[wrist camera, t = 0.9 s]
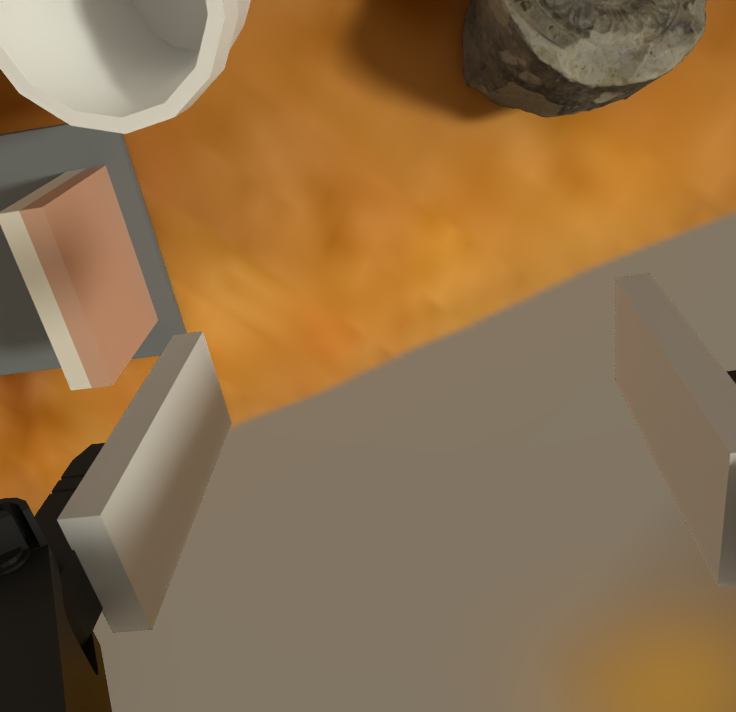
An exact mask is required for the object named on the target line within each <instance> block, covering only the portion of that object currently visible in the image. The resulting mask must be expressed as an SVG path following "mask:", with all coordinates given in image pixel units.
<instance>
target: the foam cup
mask: <svg viewBox="0 0 736 712" xmlns="http://www.w3.org/2000/svg"><path fill="white" fill-rule="evenodd" d="M250 1H251V0H0V69H1V70H2V72H3V73H4V74H5V76H6V77H7V78H8V79H9V81H10V82H11V83H12V85H13V86H14V87H15V88H16V90H17V91H18V92H19V94H21V95H23V96H24V97H26V98H27V99H29V100H31V101H32V102H34V103H36V104H37V105H39V106H40V107H42V108H44V109H45V110H47V111H48V112H50V113H52V114H53V115H55V116H56V117H58V118H60V119H61V120H63V121H64V122H66V123H68V124H69V125H71V126H76V127H83V128H90V129H96V130H103V131H109V132H116V133H122V134H127V133H130V132H133V131H136V130H139V129H142V128H144V127H147V126H150V125H153V124H156V123H159V122H162V121H165V120H168V119H171V118H174V117H176V116H177V115H179V114H180V113H182V112H183V111H185V110H186V109H188V108H189V107H191V106H192V105H193V104H194V103H195V101H196V100H197V99H198V98H199V97H200V96H201V95H202V93H203V92H204V91H205V90H206V89H207V88H208V87H209V86H210V84H211V83H212V82H213V81H214V80H215V79H216V78H217V77H218V75H219V74H220V73H221V72H222V71H223V70H224V69H225V65H226V61H227V57H228V53H229V50H230V48H231V47H232V45H233V43H234V42H235V40H236V38H237V37H238V35H239V33H240V32H241V30H242V28H243V27H244V24H245V20H246V17H247V13H248V9H249V5H250Z"/></svg>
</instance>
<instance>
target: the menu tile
mask: <svg viewBox="0 0 736 712" xmlns="http://www.w3.org/2000/svg"><path fill="white" fill-rule="evenodd" d="M0 225H1V227H2V230H3V232H4V234H5V237H6V239H7V241H8V244H9V246H10V248H11V251H12V253H13V255H14V258H15V260H16V263H17V265H18V267H19V270H20V272H21V274H22V277H23V279H24V281H25V284H26V286H27V288H28V291H29V293H30V295H31V298H32V300H33V302H34V305H35V307H36V309H37V312H38V314H39V316H40V319H41V321H42V323H43V326H44V328H45V330H46V333H47V335H48V337H49V340H50V342H51V344H52V347H53V349H54V351H55V354H56V356H57V358H58V361H59V363H60V365H61V368H62V370H63V372H64V375H65V377H66V379H67V382H68V384H69V386H70V389H71V390H79V389H87V388H96V387H104V386H112V385H113V384H114V383H115V381H116V380H117V378H118V377H119V376H120V374H121V373H122V371H123V370H124V368H125V367H126V366H127V364H128V363H129V361H130V360H131V359H132V357H133V356H134V354H135V353H136V351H137V350H138V349H139V347H140V346H141V344H142V343H143V341H144V340H145V339H146V337H147V336H148V334H149V333H150V331H151V330H152V329H153V327H154V326H155V324H156V323H157V321H158V318H157V315H156V312H155V309H154V306H153V303H152V300H151V298H150V295H149V292H148V289H147V286H146V283H145V280H144V277H143V274H142V271H141V268H140V265H139V262H138V259H137V256H136V253H135V250H134V248H133V245H132V242H131V239H130V236H129V233H128V230H127V227H126V224H125V221H124V218H123V215H122V212H121V209H120V206H119V203H118V200H117V198H116V195H115V192H114V189H113V186H112V183H111V180H110V177H109V174H108V171H107V168H106V165H104V166H98V167H92V168H86V169H80V170H73V171H67V172H65V173H63V174H62V175H60V176H58V177H57V178H55V179H54V180H52V181H50V182H49V183H47V184H45V185H44V186H42V187H40V188H39V189H37V190H35V191H34V192H32V193H30V194H29V195H27V196H26V197H24V198H22V199H21V200H19V201H17V202H16V203H14V204H12V205H11V206H9V207H7V208H6V209H4V210H2V211H1V212H0Z"/></svg>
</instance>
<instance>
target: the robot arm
mask: <svg viewBox="0 0 736 712" xmlns="http://www.w3.org/2000/svg"><path fill="white" fill-rule="evenodd" d="M615 380H616V382H617V384H618V386H619V388H620V391H621V393H622V394H623V397H624V398H625V401H626V403H627V405H628V407H629V409H630V411H631V413H632V415H633V417H634V419H635V421H636V423H637V425H638V427H639V429H640V431H641V433H642V435H643V437H644V439H645V441H646V443H647V445H648V447H649V449H650V451H651V453H652V455H653V457H654V459H655V461H656V463H657V465H658V467H659V469H660V471H661V473H662V475H663V478H664V480H665V482H666V484H667V486H668V488H669V490H670V492H671V494H672V496H673V498H674V499H675V502H676V504H677V506H678V508H679V510H680V512H681V514H682V516H683V518H684V520H685V522H686V524H687V526H688V528H689V530H690V532H691V534H692V536H693V538H694V540H695V542H696V544H697V546H698V548H699V550H700V552H701V554H702V556H703V558H704V561H705V563H706V565H707V566H708V569H709V571H710V573H711V575H712V577H713V579H714V581H715V583H716V585H717V586H730V585H736V370H735V371H725V370H724V368H723V367H722V366H721V364H720V363H719V362H718V360H717V359H716V358H715V356H714V355H713V354H712V353H711V351H710V350H709V349H708V347H707V346H706V345H705V344H704V342H703V341H702V340H701V339H700V337H699V336H698V335H697V333H696V332H695V331H694V329H693V328H692V327H691V326H690V324H689V323H688V322H687V321H686V319H685V318H684V317H683V315H682V314H681V313H680V311H679V310H678V309H677V308H676V306H675V305H674V304H673V302H672V301H671V300H670V298H669V297H668V296H667V295H666V293H665V292H664V291H663V289H662V288H661V287H660V286H659V284H658V283H657V282H656V280H655V279H654V278H653V277H652V275H651V274H650V273H646V274H638V275H631V276H623V277H616V278H615ZM230 426H231V420H230V416H229V413H228V410H227V407H226V404H225V400H224V397H223V394H222V391H221V388H220V384H219V381H218V378H217V375H216V372H215V369H214V365H213V362H212V359H211V356H210V353H209V349H208V346H207V343H206V340H205V337H204V333H203V331H202V332H194V333H186V334H179V335H173V336H172V338H171V340H170V341H169V343H168V344H167V346H166V348H165V349H164V351H163V352H162V354H161V355H160V357H159V359H158V360H157V362H156V363H155V365H154V367H153V368H152V370H151V371H150V373H149V374H148V376H147V378H146V379H145V381H144V382H143V384H142V386H141V387H140V389H139V390H138V392H137V394H136V395H135V397H134V398H133V400H132V401H131V403H130V405H129V406H128V408H127V409H126V411H125V413H124V414H123V416H122V417H121V419H120V420H119V422H118V424H117V425H116V427H115V428H114V430H113V432H112V433H111V435H110V436H109V438H108V439H107V441H106V443H100V444H92V445H90V446H89V447H88V448H87V449H86V450H84V451H83V452H82V453H81V454H80V455H78V456H77V457H76V458H75V459H74V460H72V462H71V463H70V465H69V466H68V468H67V469H66V471H65V472H64V474H63V475H62V477H61V478H62V479H61V480H59V481H58V483H57V484H56V486H55V487H54V489H53V490H52V494H49V496H48V497H47V499H46V500H45V502H44V503H43V505H42V506H41V508H40V509H39V511H38V512H37V514H36V515H35V517H34V515H33V513H32V512H31V510H30V508H29V506H28V504H27V502H26V501H24V500H22V499H19V498H4V499H0V712H112V709H111V703H110V698H109V692H108V686H107V680H106V675H105V669H104V664H103V658H102V652H101V647H100V644H99V642H98V640H97V638H96V636H95V634H94V632H93V629H94V626H95V624H96V622H97V620H98V618H99V616H100V614H101V612H103V614H104V616H105V618H106V620H107V622H108V624H109V626H110V628H111V630H112V632H113V633H116V632H128V631H142V630H152V629H153V626H154V624H155V621H156V619H157V616H158V613H159V611H160V608H161V605H162V603H163V600H164V598H165V595H166V593H167V590H168V587H169V585H170V582H171V579H172V577H173V574H174V571H175V569H176V566H177V564H178V561H179V559H180V556H181V553H182V551H183V548H184V546H185V543H186V540H187V538H188V535H189V533H190V530H191V527H192V525H193V522H194V520H195V517H196V514H197V512H198V509H199V507H200V504H201V501H202V499H203V496H204V494H205V491H206V488H207V486H208V483H209V481H210V478H211V475H212V473H213V470H214V468H215V465H216V462H217V460H218V457H219V455H220V452H221V449H222V447H223V444H224V441H225V439H226V436H227V434H228V431H229V429H230Z"/></svg>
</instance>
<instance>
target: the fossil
mask: <svg viewBox="0 0 736 712" xmlns="http://www.w3.org/2000/svg"><path fill="white" fill-rule="evenodd" d="M705 6H706V0H471V3H470V5H469V8H468V10H467V13H466V16H465V20H464V25H463V37H462V43H463V59H464V66H463V76H464V79H465V83H466V85H467V86H468V87H473V88H475V89H476V90H479V91H480V92H481V93H482V94H484V95H485V96H486V97H487V98H488V99H489V100H490V101H492V102H494V103H495V104H497V105H501V106H504V107H509V108H518V109H521V110H524V111H526V112H530V113H534V114H536V115H539V116H541V117H555V116H561V115H571V114H576V113H579V112H581V111H590V110H593V109H595V108H599V107H603V106H605V105H607V104H609V103H612V102H615V101H618V100H621V99H627V98H628V97H630V96H631V95H633V94H634V93H636V92H637V91H639V90H640V89H642V88H643V87H645V86H646V85H648V84H650V83H651V82H653V81H654V80H656V79H658V78H660V77H661V76H663V75H665V74H666V73H668V72H669V71H671V70H672V69H673V68H674V67H675V66H676V65H677V64H679V63H680V62H681V61H682V60H683V59H684V57H685V56H686V55H687V54H688V53H690V52H691V51H692V49H693V48H694V46H695V44H696V43H697V41H698V40H699V39H700V38H701V37H702V34H703V32H704V29H705V27H706V26H705V22H706V13H705Z"/></svg>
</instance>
